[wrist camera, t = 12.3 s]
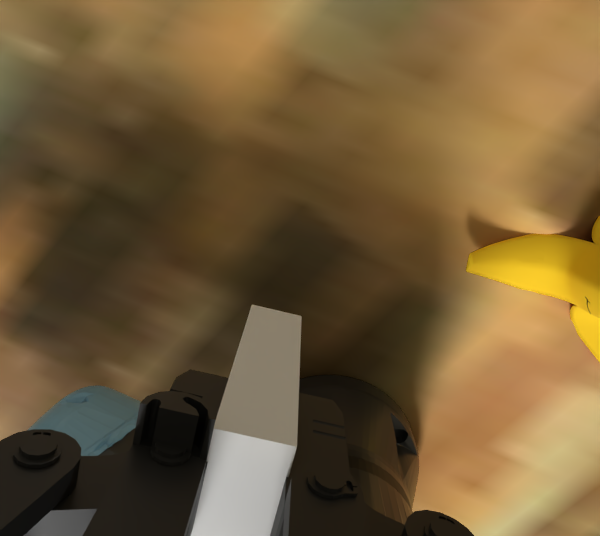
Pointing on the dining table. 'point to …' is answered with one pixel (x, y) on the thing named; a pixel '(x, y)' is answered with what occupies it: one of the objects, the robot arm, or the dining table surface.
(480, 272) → the banana peel
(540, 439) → the dining table surface
